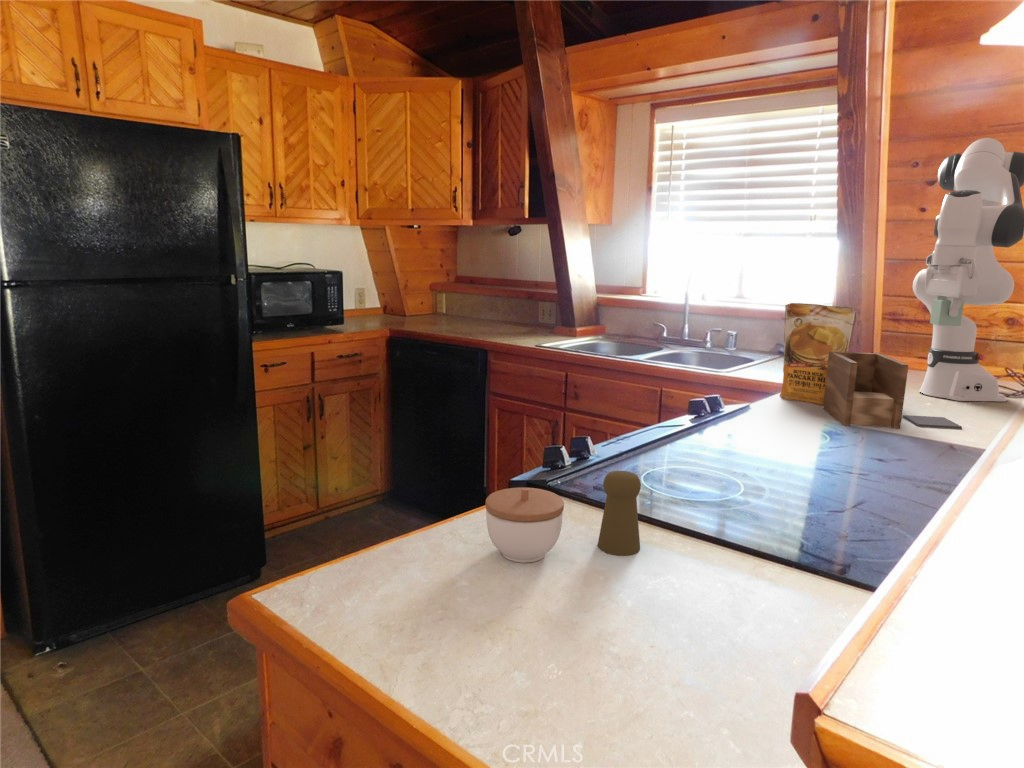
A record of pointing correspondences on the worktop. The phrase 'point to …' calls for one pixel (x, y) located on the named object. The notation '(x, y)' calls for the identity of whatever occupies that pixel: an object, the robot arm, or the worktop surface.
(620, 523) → the cork
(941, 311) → the block
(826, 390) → the bin
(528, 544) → the lidded jar
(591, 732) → the worktop surface
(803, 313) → the pancake mix bag
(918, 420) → the mat
